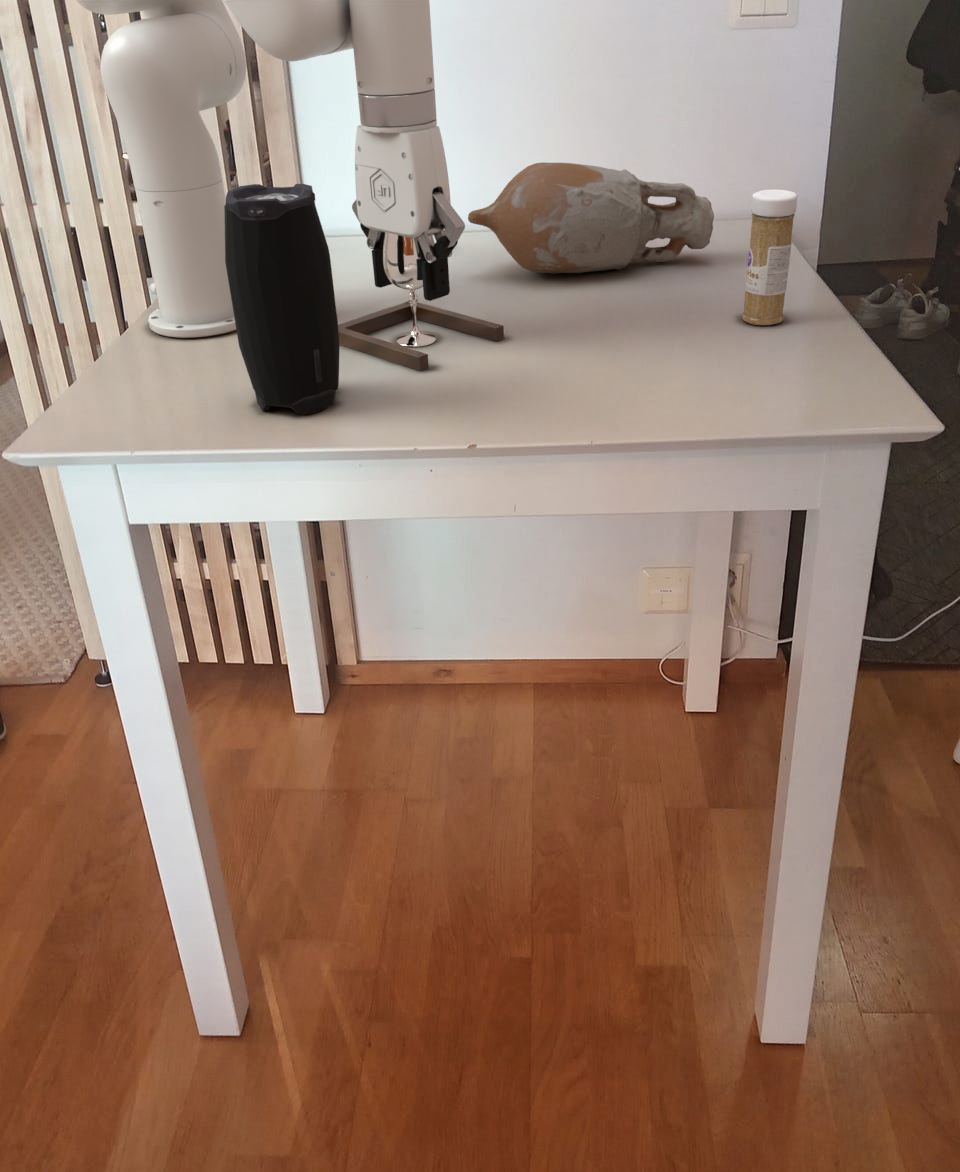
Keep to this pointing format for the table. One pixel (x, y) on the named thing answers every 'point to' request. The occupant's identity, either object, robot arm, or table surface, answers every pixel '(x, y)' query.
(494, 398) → the table surface
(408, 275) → the wineglass
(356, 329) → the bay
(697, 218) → the amphora
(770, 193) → the sprinkles bottle
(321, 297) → the portable speaker
